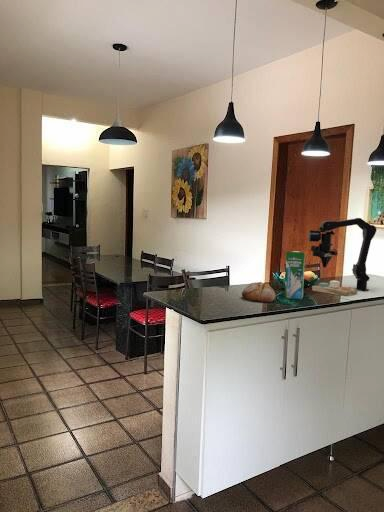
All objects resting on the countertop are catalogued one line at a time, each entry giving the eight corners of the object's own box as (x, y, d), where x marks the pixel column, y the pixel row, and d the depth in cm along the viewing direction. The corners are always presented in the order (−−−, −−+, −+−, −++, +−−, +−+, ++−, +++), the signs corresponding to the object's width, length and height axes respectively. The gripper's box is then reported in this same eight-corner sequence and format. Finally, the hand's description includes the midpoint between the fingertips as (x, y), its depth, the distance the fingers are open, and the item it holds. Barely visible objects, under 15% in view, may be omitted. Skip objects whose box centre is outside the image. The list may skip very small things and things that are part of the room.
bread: (259, 306, 201) (259, 286, 200) (235, 298, 218) (234, 280, 217) (283, 301, 210) (283, 282, 208) (258, 294, 227) (258, 276, 225)
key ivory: (333, 286, 241) (333, 280, 241) (339, 287, 238) (339, 281, 238) (329, 287, 238) (329, 280, 238) (335, 288, 235) (336, 281, 235)
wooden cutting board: (322, 288, 251) (323, 284, 250) (357, 293, 234) (357, 289, 234) (311, 290, 243) (312, 286, 242) (346, 296, 226) (347, 291, 226)
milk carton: (303, 296, 223) (305, 250, 221) (301, 299, 215) (304, 252, 212) (286, 295, 226) (288, 250, 224) (284, 298, 218) (286, 251, 215)
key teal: (322, 288, 246) (322, 282, 246) (328, 289, 243) (328, 283, 243) (318, 289, 244) (319, 283, 243) (324, 290, 241) (325, 284, 240)
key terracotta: (344, 291, 236) (344, 285, 236) (350, 293, 233) (351, 286, 233) (340, 292, 233) (340, 286, 233) (347, 293, 230) (347, 287, 230)
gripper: (322, 240, 258) (321, 265, 260) (305, 241, 246) (304, 267, 248) (338, 241, 250) (337, 267, 252) (322, 242, 238) (320, 269, 239)
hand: (324, 267), depth 248 cm, fingers closed
